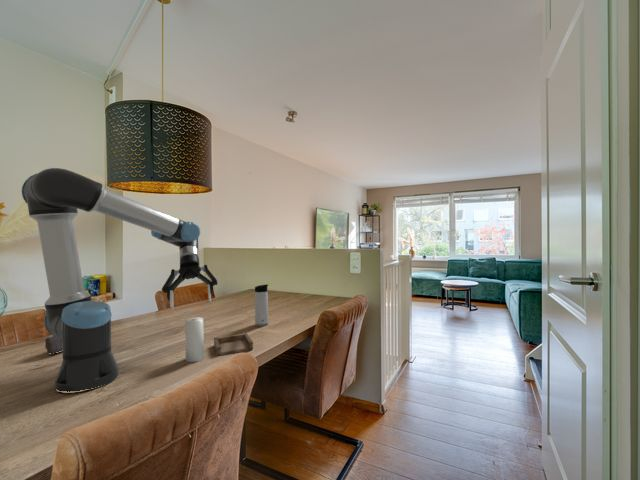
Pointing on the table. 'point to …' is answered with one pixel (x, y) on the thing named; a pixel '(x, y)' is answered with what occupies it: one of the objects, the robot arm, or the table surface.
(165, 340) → the table surface
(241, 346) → the tray
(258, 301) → the travel mug
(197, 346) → the paper roll
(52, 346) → the perforated stone tool
